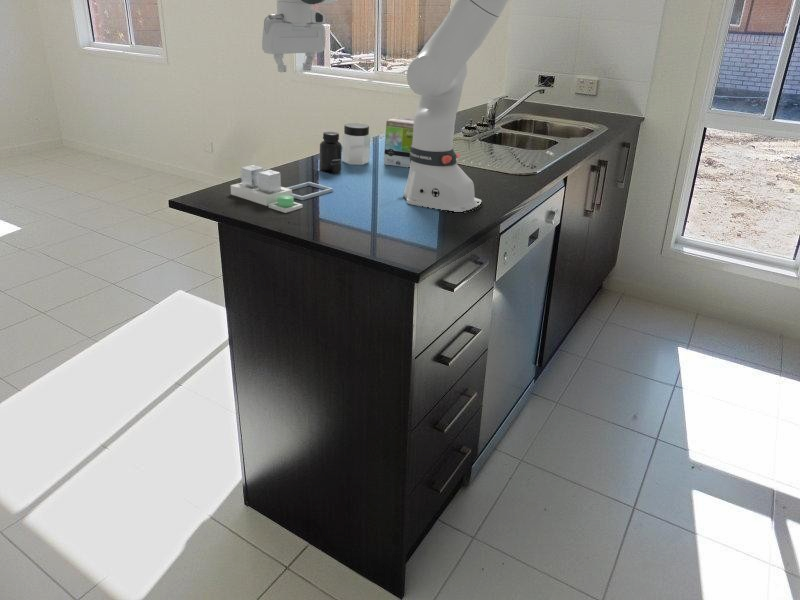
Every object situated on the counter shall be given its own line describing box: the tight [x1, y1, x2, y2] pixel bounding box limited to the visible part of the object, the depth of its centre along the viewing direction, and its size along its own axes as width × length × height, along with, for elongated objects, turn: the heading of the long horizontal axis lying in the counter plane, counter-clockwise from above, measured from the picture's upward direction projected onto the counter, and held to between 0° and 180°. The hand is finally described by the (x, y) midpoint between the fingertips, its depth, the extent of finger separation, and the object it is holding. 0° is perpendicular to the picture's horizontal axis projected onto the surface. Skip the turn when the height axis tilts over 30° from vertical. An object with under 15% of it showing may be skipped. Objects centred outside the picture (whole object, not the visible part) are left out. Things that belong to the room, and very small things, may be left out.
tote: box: [286, 181, 334, 201], centre depth 172 cm, size 9×12×2 cm
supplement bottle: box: [318, 131, 343, 175], centre depth 194 cm, size 7×7×12 cm
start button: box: [277, 196, 295, 208], centre depth 158 cm, size 4×4×3 cm
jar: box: [341, 122, 371, 166], centre depth 208 cm, size 9×8×12 cm
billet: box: [258, 169, 282, 195], centre depth 163 cm, size 4×4×7 cm
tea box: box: [383, 115, 414, 168], centre depth 208 cm, size 15×10×15 cm, turn 76°
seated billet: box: [240, 164, 264, 189], centre depth 166 cm, size 4×4×7 cm
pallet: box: [229, 182, 293, 207], centre depth 165 cm, size 14×9×4 cm, turn 54°
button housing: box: [268, 201, 304, 214], centre depth 159 cm, size 6×6×2 cm
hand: (294, 71), depth 168 cm, fingers open, 8 cm apart
